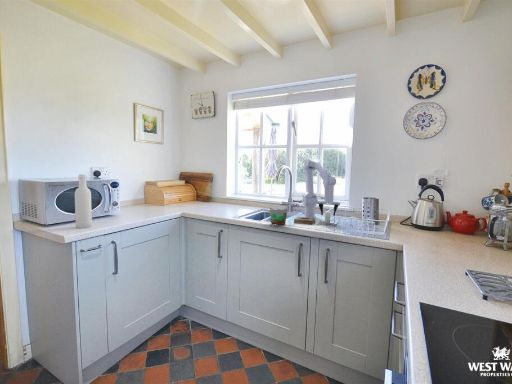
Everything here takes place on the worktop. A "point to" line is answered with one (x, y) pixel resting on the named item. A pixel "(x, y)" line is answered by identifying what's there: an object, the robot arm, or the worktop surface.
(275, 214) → the food container
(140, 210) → the worktop surface
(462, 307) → the worktop surface
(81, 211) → the bottle
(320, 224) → the mat
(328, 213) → the steel peg
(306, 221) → the block
